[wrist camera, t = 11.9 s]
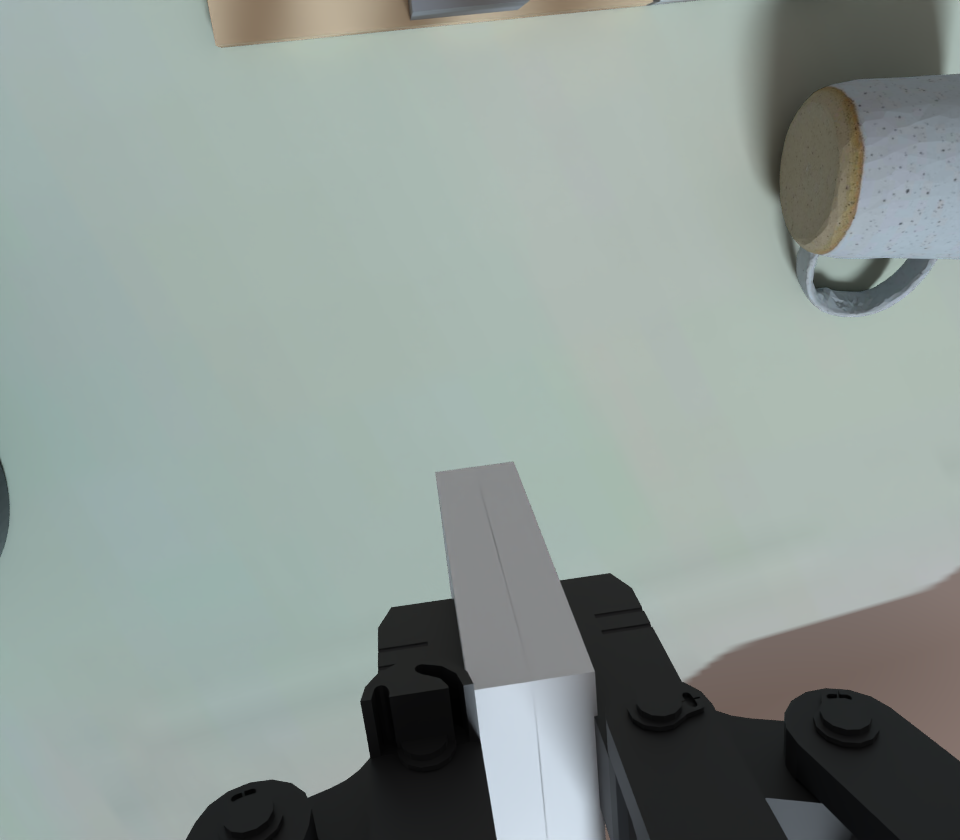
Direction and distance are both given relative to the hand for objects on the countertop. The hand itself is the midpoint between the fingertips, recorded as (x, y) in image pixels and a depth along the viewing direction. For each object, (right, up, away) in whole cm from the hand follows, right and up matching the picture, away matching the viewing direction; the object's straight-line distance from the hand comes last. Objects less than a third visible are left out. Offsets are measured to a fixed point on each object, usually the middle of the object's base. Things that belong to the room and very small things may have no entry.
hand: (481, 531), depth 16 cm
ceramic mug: (+18, +13, +24) cm, 32 cm away
